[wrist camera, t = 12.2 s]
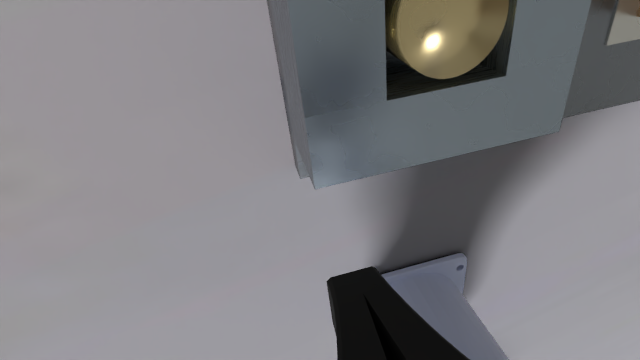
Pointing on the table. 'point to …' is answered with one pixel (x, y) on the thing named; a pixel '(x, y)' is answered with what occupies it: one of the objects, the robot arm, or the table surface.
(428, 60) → the pin
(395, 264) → the table surface
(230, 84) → the table surface
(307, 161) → the base
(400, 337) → the robot arm
